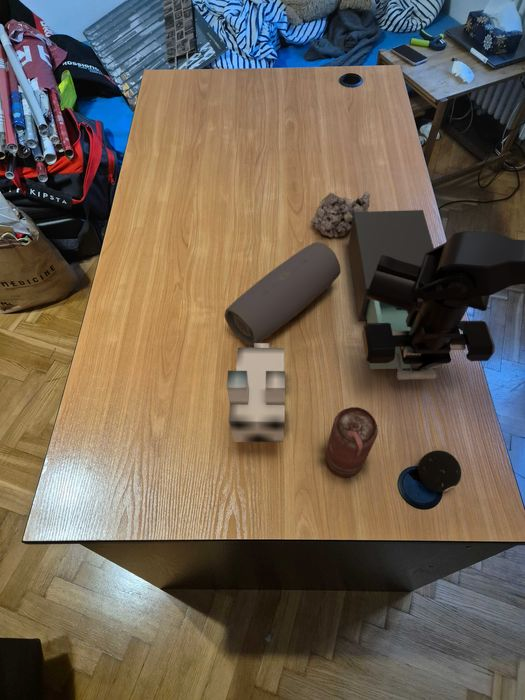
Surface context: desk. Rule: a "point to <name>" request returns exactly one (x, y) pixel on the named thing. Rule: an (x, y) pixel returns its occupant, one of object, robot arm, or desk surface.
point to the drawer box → (384, 245)
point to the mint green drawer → (397, 319)
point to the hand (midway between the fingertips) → (413, 368)
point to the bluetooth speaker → (282, 293)
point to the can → (350, 441)
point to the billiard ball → (439, 471)
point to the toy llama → (257, 395)
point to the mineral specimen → (338, 214)
